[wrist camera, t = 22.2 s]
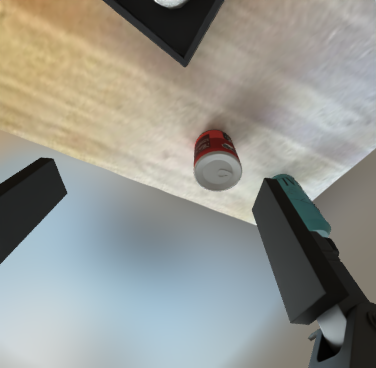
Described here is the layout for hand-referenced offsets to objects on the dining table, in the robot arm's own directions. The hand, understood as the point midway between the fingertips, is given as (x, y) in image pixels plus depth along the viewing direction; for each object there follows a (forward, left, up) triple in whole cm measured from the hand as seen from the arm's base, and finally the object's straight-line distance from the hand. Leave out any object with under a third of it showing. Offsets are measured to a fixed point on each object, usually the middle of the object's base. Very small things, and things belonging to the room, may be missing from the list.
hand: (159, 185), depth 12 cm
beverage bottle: (+2, +28, -27) cm, 39 cm away
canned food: (+4, +10, -27) cm, 29 cm away
